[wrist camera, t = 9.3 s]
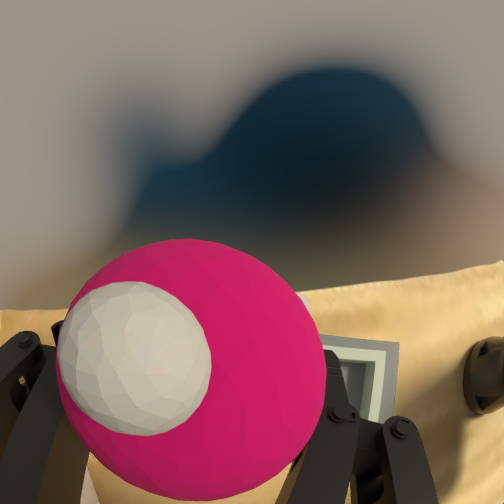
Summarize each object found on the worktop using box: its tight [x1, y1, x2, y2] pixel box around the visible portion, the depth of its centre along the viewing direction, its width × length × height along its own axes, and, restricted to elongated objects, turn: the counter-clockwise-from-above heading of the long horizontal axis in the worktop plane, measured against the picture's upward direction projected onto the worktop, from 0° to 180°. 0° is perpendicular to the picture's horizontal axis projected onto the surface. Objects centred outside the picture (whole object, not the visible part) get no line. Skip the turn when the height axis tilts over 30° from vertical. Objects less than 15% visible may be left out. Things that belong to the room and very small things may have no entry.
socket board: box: [319, 334, 399, 424], centre depth 31 cm, size 20×16×4 cm
